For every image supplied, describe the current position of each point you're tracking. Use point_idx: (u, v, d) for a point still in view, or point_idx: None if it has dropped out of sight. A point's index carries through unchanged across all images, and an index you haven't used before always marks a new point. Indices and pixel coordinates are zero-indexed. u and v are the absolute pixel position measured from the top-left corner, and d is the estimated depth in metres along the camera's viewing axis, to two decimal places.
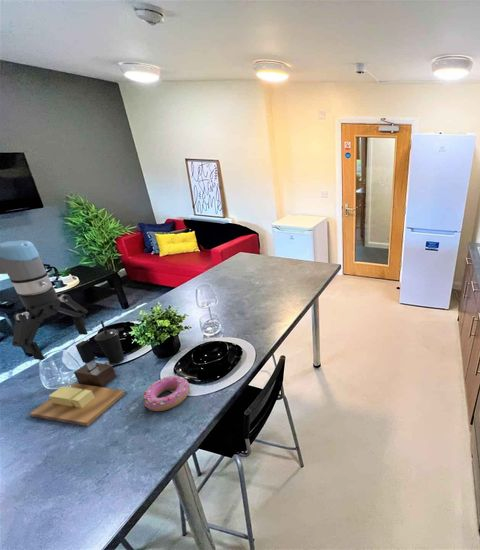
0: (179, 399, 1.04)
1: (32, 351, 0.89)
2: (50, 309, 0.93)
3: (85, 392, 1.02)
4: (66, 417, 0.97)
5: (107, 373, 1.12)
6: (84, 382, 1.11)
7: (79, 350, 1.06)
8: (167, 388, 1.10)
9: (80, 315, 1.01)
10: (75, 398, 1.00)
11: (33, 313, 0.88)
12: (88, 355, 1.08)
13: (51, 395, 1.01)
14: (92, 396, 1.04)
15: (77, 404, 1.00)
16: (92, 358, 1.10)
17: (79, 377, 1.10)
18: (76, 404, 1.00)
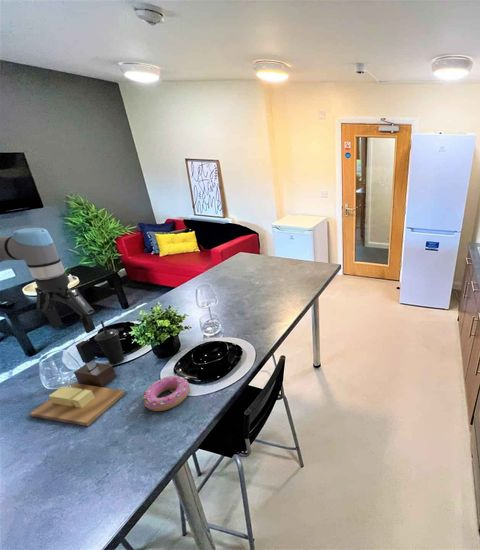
0: (179, 399, 1.04)
1: None
2: None
3: (85, 392, 1.02)
4: (66, 417, 0.97)
5: (107, 373, 1.12)
6: (84, 382, 1.11)
7: (79, 350, 1.06)
8: (167, 388, 1.10)
9: None
10: (75, 398, 1.00)
11: None
12: (88, 355, 1.08)
13: (51, 395, 1.01)
14: (92, 396, 1.04)
15: (77, 404, 1.00)
16: (92, 358, 1.10)
17: (79, 377, 1.10)
18: (76, 404, 1.00)
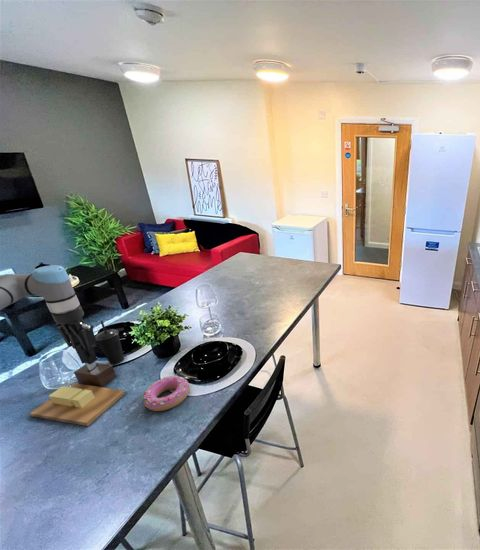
0: (179, 399, 1.04)
1: None
2: None
3: (85, 392, 1.02)
4: (66, 417, 0.97)
5: (107, 373, 1.12)
6: (84, 382, 1.11)
7: (79, 350, 1.06)
8: (167, 388, 1.10)
9: None
10: (75, 398, 1.00)
11: None
12: None
13: (51, 395, 1.01)
14: (92, 396, 1.04)
15: (77, 404, 1.00)
16: None
17: (79, 377, 1.10)
18: (76, 404, 1.00)
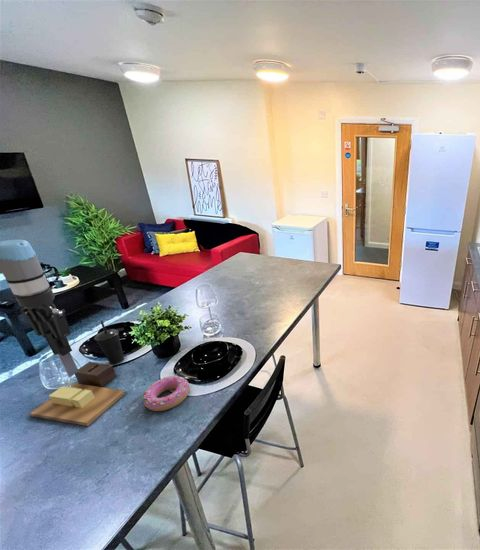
0: (179, 399, 1.04)
1: None
2: None
3: (85, 392, 1.02)
4: (66, 417, 0.97)
5: (107, 373, 1.12)
6: (84, 382, 1.11)
7: (50, 339, 0.93)
8: (167, 388, 1.10)
9: None
10: (75, 398, 1.00)
11: None
12: None
13: (51, 395, 1.01)
14: (92, 396, 1.04)
15: (77, 404, 1.00)
16: None
17: (79, 377, 1.10)
18: (76, 404, 1.00)
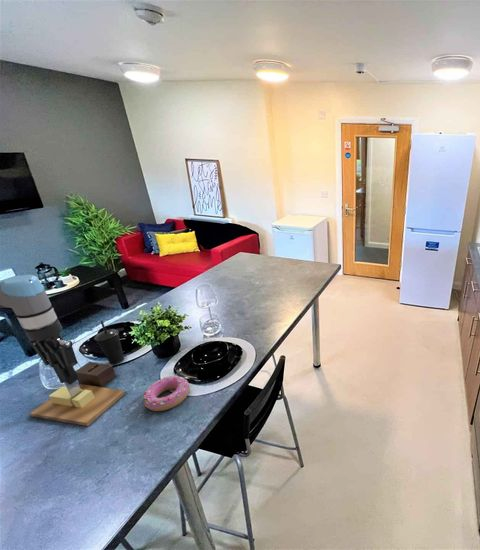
0: (179, 399, 1.04)
1: None
2: None
3: (85, 392, 1.02)
4: (66, 417, 0.97)
5: (107, 373, 1.12)
6: (84, 382, 1.11)
7: (57, 369, 0.95)
8: (167, 388, 1.10)
9: None
10: (75, 398, 1.00)
11: None
12: None
13: (51, 395, 1.01)
14: (92, 396, 1.04)
15: (77, 404, 1.00)
16: None
17: (79, 377, 1.10)
18: (76, 404, 1.00)
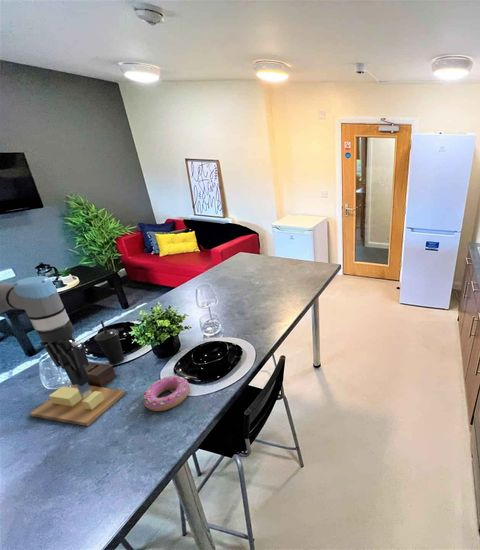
0: (179, 399, 1.04)
1: None
2: None
3: (95, 393, 1.02)
4: (66, 417, 0.97)
5: (107, 373, 1.12)
6: None
7: (69, 371, 0.95)
8: (167, 388, 1.10)
9: None
10: (85, 400, 0.99)
11: None
12: None
13: (51, 395, 1.01)
14: (102, 397, 1.03)
15: (87, 406, 1.00)
16: None
17: None
18: (86, 405, 1.00)
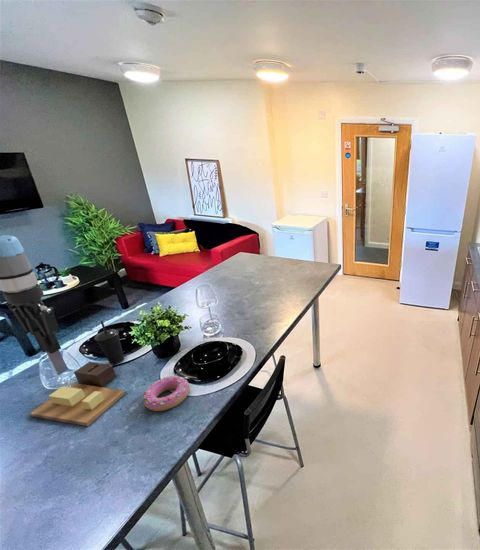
0: (179, 399, 1.04)
1: None
2: None
3: (95, 393, 1.02)
4: (66, 417, 0.97)
5: (107, 373, 1.12)
6: (84, 382, 1.11)
7: (38, 337, 0.92)
8: (167, 388, 1.10)
9: None
10: (85, 400, 0.99)
11: None
12: None
13: (51, 395, 1.01)
14: (102, 397, 1.03)
15: (87, 406, 1.00)
16: None
17: (79, 377, 1.10)
18: (86, 405, 1.00)
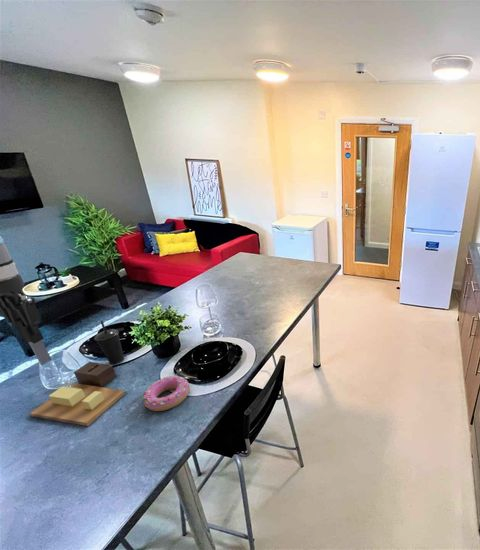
0: (179, 399, 1.04)
1: None
2: None
3: (95, 393, 1.02)
4: (66, 417, 0.97)
5: (107, 373, 1.12)
6: (84, 382, 1.11)
7: (20, 327, 0.94)
8: (167, 388, 1.10)
9: None
10: (85, 400, 0.99)
11: None
12: None
13: (51, 395, 1.01)
14: (102, 397, 1.03)
15: (87, 406, 1.00)
16: None
17: (79, 377, 1.10)
18: (86, 405, 1.00)
